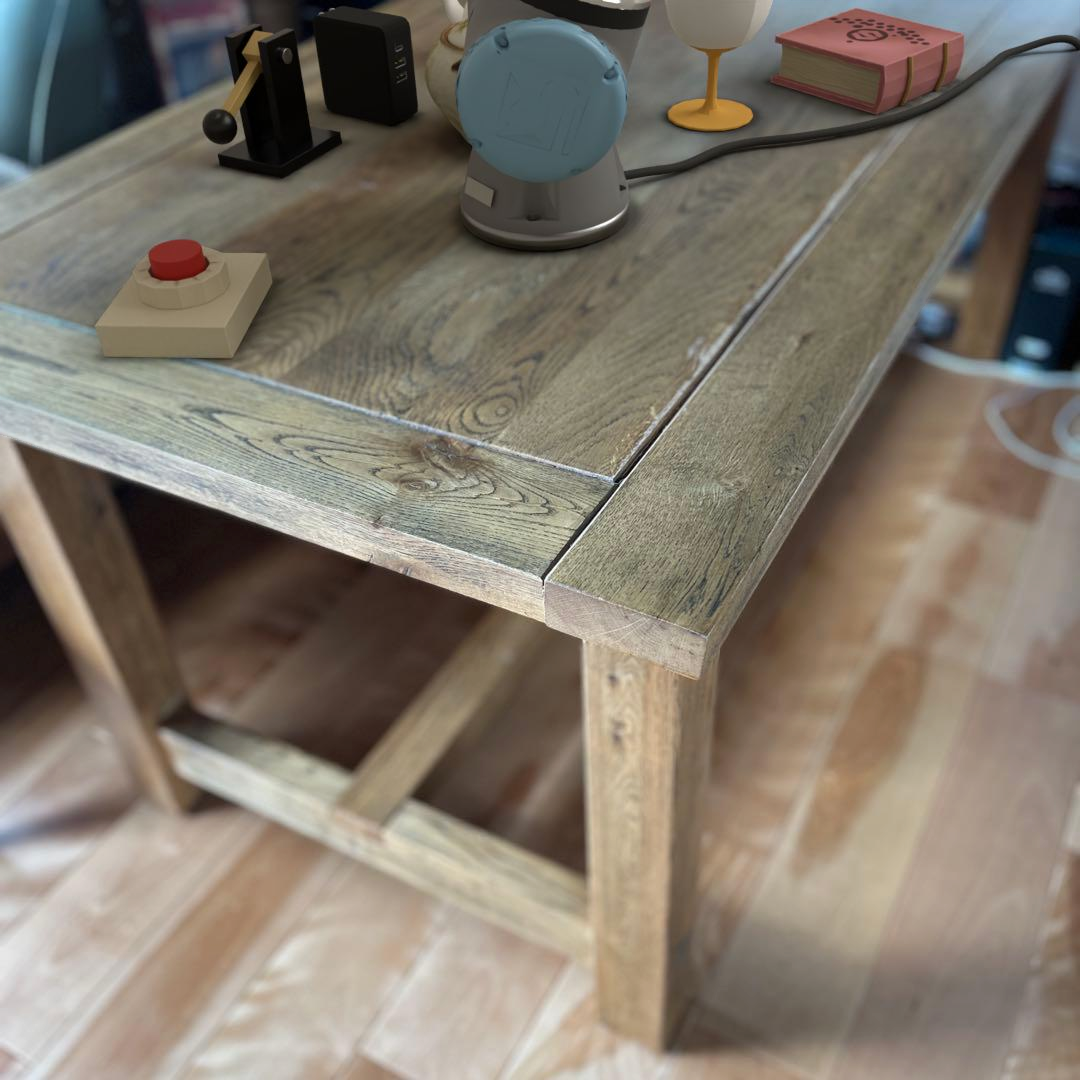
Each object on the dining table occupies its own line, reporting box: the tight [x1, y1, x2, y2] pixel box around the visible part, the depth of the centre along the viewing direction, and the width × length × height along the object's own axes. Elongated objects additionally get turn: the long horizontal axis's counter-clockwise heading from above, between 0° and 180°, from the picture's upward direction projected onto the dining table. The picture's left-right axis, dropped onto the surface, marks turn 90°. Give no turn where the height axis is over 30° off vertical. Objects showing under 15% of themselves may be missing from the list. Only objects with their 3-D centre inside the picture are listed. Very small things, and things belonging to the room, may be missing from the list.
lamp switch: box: [217, 23, 343, 179], centre depth 110 cm, size 10×8×12 cm
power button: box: [147, 238, 206, 281], centre depth 85 cm, size 4×4×2 cm
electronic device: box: [312, 5, 419, 126], centre depth 119 cm, size 4×10×10 cm, turn 56°
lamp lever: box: [201, 31, 274, 146], centre depth 106 cm, size 12×3×3 cm, turn 152°
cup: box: [664, 0, 774, 132], centre depth 113 cm, size 12×12×17 cm
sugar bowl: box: [424, 18, 471, 145], centre depth 111 cm, size 20×15×15 cm
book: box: [770, 7, 965, 115], centre depth 123 cm, size 14×15×5 cm
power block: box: [94, 246, 273, 359], centre depth 87 cm, size 12×10×4 cm
